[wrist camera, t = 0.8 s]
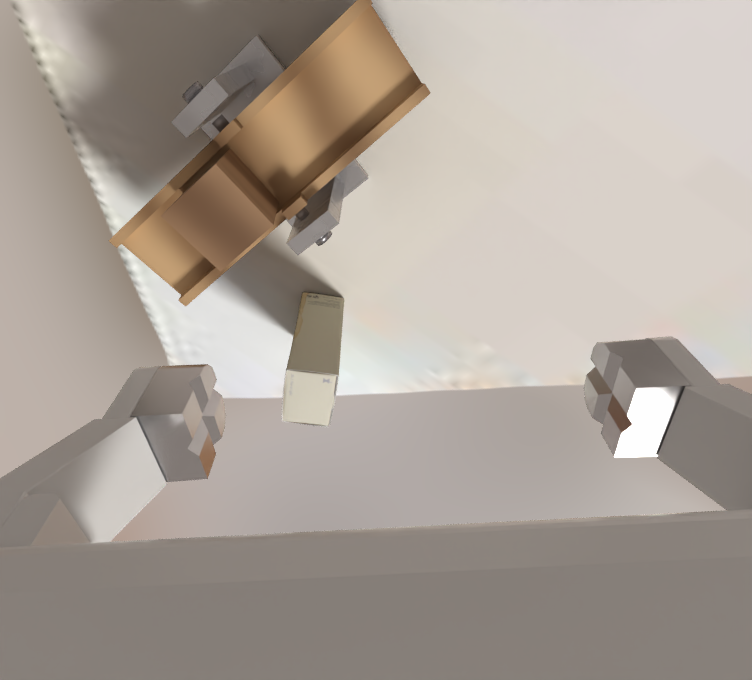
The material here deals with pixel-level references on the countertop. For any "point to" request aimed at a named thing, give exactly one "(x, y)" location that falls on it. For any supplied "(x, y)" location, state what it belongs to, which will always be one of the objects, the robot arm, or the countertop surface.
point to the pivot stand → (230, 99)
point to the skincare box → (314, 361)
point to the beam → (290, 138)
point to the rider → (223, 211)
